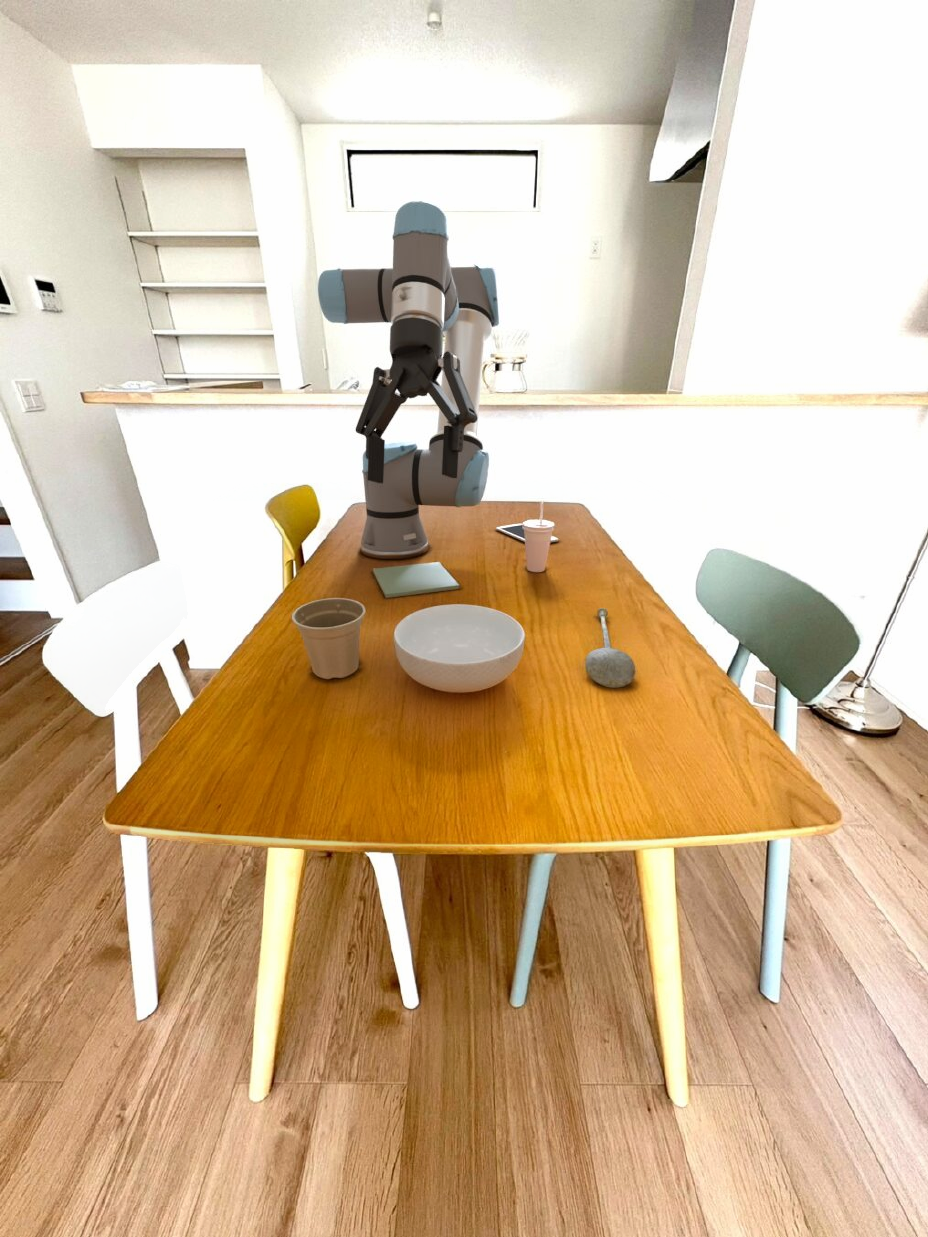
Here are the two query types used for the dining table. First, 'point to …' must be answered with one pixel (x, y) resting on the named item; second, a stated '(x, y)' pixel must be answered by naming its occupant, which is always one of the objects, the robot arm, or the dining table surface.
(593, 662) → the soupspoon
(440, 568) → the pale green notebook
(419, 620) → the cereal bowl
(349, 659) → the flower pot
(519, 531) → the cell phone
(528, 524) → the smoothie
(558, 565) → the dining table surface
